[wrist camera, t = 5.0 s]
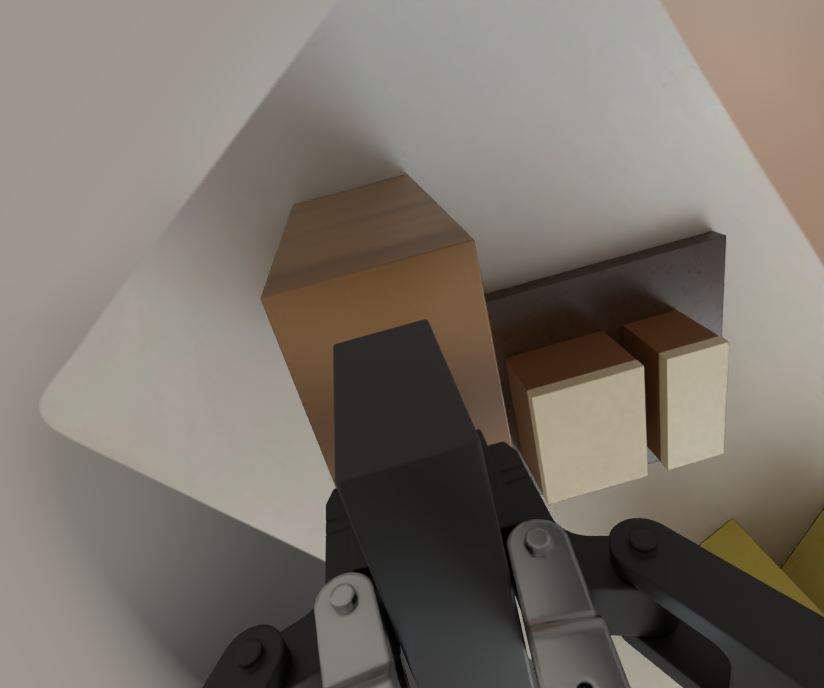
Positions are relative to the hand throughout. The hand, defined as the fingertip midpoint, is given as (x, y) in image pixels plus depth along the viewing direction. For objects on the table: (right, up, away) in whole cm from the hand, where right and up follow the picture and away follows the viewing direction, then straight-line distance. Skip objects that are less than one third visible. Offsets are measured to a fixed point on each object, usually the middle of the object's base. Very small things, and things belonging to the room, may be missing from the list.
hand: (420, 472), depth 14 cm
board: (+16, +1, +29) cm, 33 cm away
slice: (+20, +1, +28) cm, 34 cm away
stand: (-3, +9, +23) cm, 25 cm away
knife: (+1, -5, +3) cm, 6 cm away
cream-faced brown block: (+12, -1, +28) cm, 31 cm away
